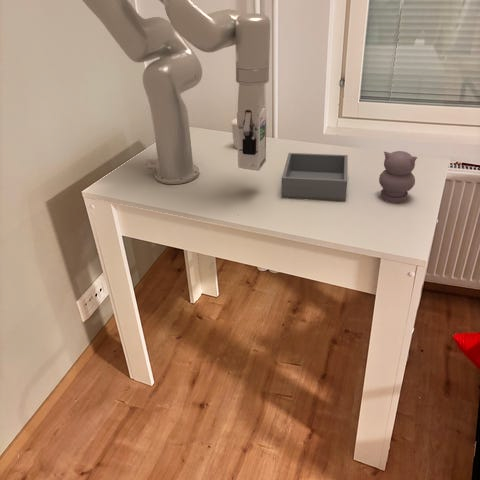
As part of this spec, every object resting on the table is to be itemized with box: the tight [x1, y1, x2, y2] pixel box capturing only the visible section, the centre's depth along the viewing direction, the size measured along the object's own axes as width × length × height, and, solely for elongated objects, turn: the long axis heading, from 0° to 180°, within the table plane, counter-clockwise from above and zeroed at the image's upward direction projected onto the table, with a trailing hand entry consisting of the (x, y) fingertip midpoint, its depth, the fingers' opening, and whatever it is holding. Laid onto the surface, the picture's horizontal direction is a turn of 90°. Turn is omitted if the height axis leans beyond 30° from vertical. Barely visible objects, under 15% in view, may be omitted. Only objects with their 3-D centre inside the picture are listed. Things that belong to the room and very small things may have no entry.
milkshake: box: [230, 117, 238, 150], centre depth 146 cm, size 4×5×10 cm
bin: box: [281, 152, 349, 202], centre depth 123 cm, size 16×16×6 cm
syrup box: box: [236, 106, 267, 171], centre depth 115 cm, size 6×6×14 cm
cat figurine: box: [378, 150, 418, 204], centre depth 115 cm, size 8×8×12 cm
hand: (251, 147), depth 116 cm, fingers closed on syrup box, 6 cm apart
